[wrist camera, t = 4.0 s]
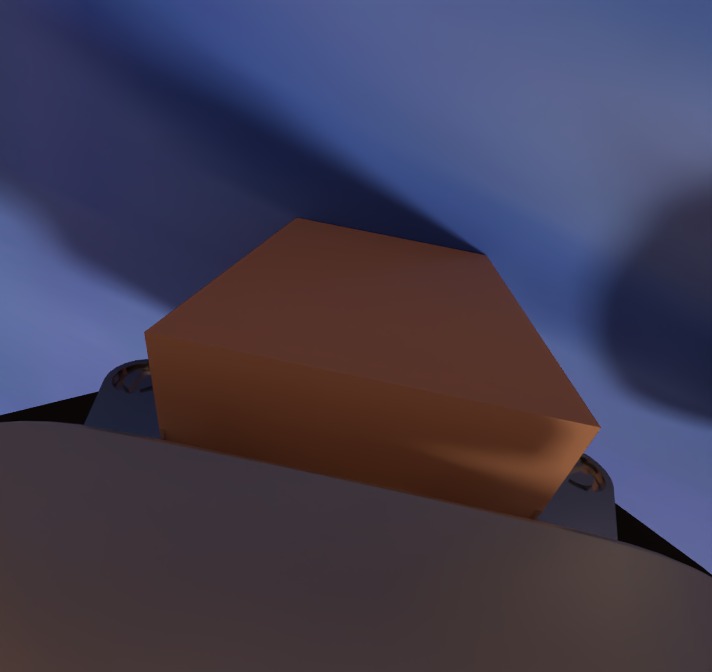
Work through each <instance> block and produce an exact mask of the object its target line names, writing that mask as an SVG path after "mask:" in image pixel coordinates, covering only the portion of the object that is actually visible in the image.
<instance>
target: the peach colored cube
mask: <svg viewBox="0 0 712 672" xmlns="http://www.w3.org/2000/svg"><path fill="white" fill-rule="evenodd" d="M144 333H145V340H146V346H147V353H148V359H149V366H150V372H151V378H152V385H153V391H154V398H155V404H156V411H157V417H158V424H159V429H164V430H165V431H166V438H167V441H171V442H176V443H181V444H186V445H191V446H195V447H200V448H205V449H210V450H214V451H219V452H224V453H229V454H233V455H238V456H243V457H248V458H252V459H257V460H262V461H267V462H271V463H276V464H281V465H286V466H290V467H295V468H300V469H304V470H309V471H313V472H318V473H323V474H327V475H332V476H337V477H341V478H346V479H351V480H355V481H360V482H364V483H369V484H374V485H378V486H383V487H387V488H392V489H397V490H401V491H406V492H410V493H415V494H419V495H424V496H428V497H433V498H437V499H442V500H446V501H451V502H455V503H460V504H464V505H469V506H473V507H478V508H482V509H487V510H491V511H496V512H500V513H505V514H509V515H514V516H518V517H523V518H527V519H530V517H531V516H532V514H533V513H534V511H535V510H539V511H543V510H544V508H545V507H546V506H547V504H548V503H549V501H550V500H551V498H552V497H553V495H554V494H555V493H556V491H557V490H558V488H559V487H560V485H561V484H562V483H563V481H564V480H565V478H566V477H567V475H568V474H569V473H570V471H571V470H572V468H573V467H574V465H575V464H576V463H577V461H578V460H579V458H580V457H581V455H582V454H583V453H584V451H585V450H586V448H587V447H588V445H589V444H590V443H591V441H592V440H593V438H594V437H595V435H596V434H597V433H598V431H599V430H600V428H601V427H600V425H599V424H598V422H597V421H596V419H595V418H594V416H593V415H592V413H591V412H590V410H589V409H588V407H587V406H586V404H585V403H584V401H583V400H582V398H581V397H580V395H579V394H578V392H577V391H576V389H575V388H574V386H573V385H572V383H571V382H570V380H569V379H568V377H567V376H566V374H565V373H564V371H563V370H562V368H561V367H560V365H559V364H558V362H557V361H556V359H555V358H554V356H553V355H552V353H551V352H550V350H549V349H548V347H547V346H546V344H545V343H544V341H543V340H542V338H541V337H540V335H539V334H538V332H537V331H536V329H535V328H534V326H533V325H532V323H531V322H530V320H529V319H528V317H527V316H526V314H525V313H524V311H523V310H522V308H521V306H520V305H519V303H518V302H517V300H516V299H515V297H514V296H513V294H512V293H511V291H510V290H509V288H508V287H507V285H506V284H505V282H504V281H503V279H502V278H501V276H500V275H499V273H498V272H497V270H496V269H495V267H494V266H493V264H492V263H491V261H490V260H489V258H488V257H487V255H482V254H477V253H472V252H467V251H462V250H457V249H452V248H447V247H442V246H437V245H432V244H427V243H422V242H417V241H412V240H407V239H402V238H397V237H392V236H387V235H382V234H377V233H372V232H367V231H362V230H357V229H352V228H347V227H342V226H337V225H331V224H326V223H321V222H316V221H311V220H306V219H301V218H295V219H294V220H293V221H291V222H290V223H289V224H287V225H286V226H285V227H283V228H282V229H281V230H279V231H278V232H277V233H275V234H274V235H273V236H271V237H270V238H269V239H267V240H266V241H265V242H263V243H262V244H261V245H259V246H258V247H257V248H255V249H254V250H253V251H251V252H250V253H249V254H247V255H246V256H245V257H243V258H242V259H241V260H239V261H238V262H237V263H235V264H234V265H233V266H231V267H230V268H229V269H228V270H226V271H225V272H224V273H222V274H221V275H220V276H218V277H217V278H216V279H214V280H213V281H212V282H210V283H209V284H208V285H206V286H205V287H204V288H202V289H201V290H200V291H198V292H197V293H196V294H194V295H193V296H192V297H190V298H189V299H188V300H186V301H185V302H184V303H182V304H181V305H180V306H178V307H177V308H176V309H174V310H173V311H172V312H170V313H169V314H168V315H166V316H165V317H164V318H162V319H161V320H160V321H158V322H157V323H156V324H154V325H153V326H152V327H150V328H149V329H148V330H146V331H145V332H144Z"/></svg>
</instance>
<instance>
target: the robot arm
mask: <svg viewBox="0 0 712 672" xmlns="http://www.w3.org/2000/svg"><path fill="white" fill-rule="evenodd" d="M0 672H712V575H711V574H710V573H709V572H708V571H706V570H705V569H704V568H703V567H701V566H700V565H699V564H697V563H696V562H695V561H693V560H692V559H690V558H689V557H688V556H686V555H685V554H684V553H682V552H681V551H680V550H678V549H677V548H675V547H674V546H673V545H671V544H670V543H669V542H667V541H666V540H665V539H663V538H662V537H661V536H659V535H658V534H656V533H655V532H654V531H652V530H651V529H650V528H648V527H647V526H646V525H644V524H643V523H641V522H640V521H639V520H637V519H636V518H635V517H633V516H632V515H631V514H629V513H628V512H627V511H625V510H624V509H622V508H621V507H620V506H618V505H617V504H616V503H615V498H614V487H613V483H612V480H611V478H610V477H609V475H608V473H607V472H606V471H605V470H604V469H603V468H602V466H601V465H600V464H599V463H597V462H596V461H595V460H593V459H592V458H591V457H590V456H588V455H586V454H584V453H583V454H582V455H581V457H580V458H579V460H578V461H577V463H576V464H575V465H574V467H573V468H572V470H571V471H570V473H569V474H568V475H567V477H566V478H565V480H564V481H563V483H562V484H561V485H560V487H559V488H558V490H557V491H556V493H555V494H554V495H553V497H552V498H551V500H550V501H549V503H548V504H547V506H546V507H545V508H544V510H543V511H539V510H535V511H534V513H533V514H532V516H531V517H530V519H527V518H523V517H518V516H514V515H509V514H505V513H500V512H496V511H491V510H487V509H482V508H478V507H473V506H469V505H464V504H460V503H455V502H451V501H446V500H442V499H437V498H433V497H428V496H424V495H419V494H415V493H410V492H406V491H401V490H397V489H392V488H387V487H383V486H378V485H374V484H369V483H364V482H360V481H355V480H351V479H346V478H341V477H337V476H332V475H327V474H323V473H318V472H313V471H309V470H304V469H300V468H295V467H290V466H286V465H281V464H276V463H271V462H267V461H262V460H257V459H252V458H248V457H243V456H238V455H233V454H229V453H224V452H219V451H214V450H210V449H205V448H200V447H195V446H191V445H186V444H181V443H176V442H171V441H167V438H166V431H165V430H164V429H159V424H158V417H157V411H156V404H155V398H154V391H153V385H152V378H151V372H150V366H149V359H144V360H135V361H132V362H128V363H125V364H122V365H120V366H118V367H116V368H115V369H113V370H112V371H110V372H109V373H108V375H107V376H106V377H105V379H104V381H103V383H102V385H101V388H100V390H99V392H95V393H90V394H86V395H82V396H78V397H74V398H70V399H66V400H62V401H58V402H53V403H49V404H45V405H41V406H37V407H33V408H29V409H25V410H20V411H16V412H12V413H8V414H4V415H0Z"/></svg>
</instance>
